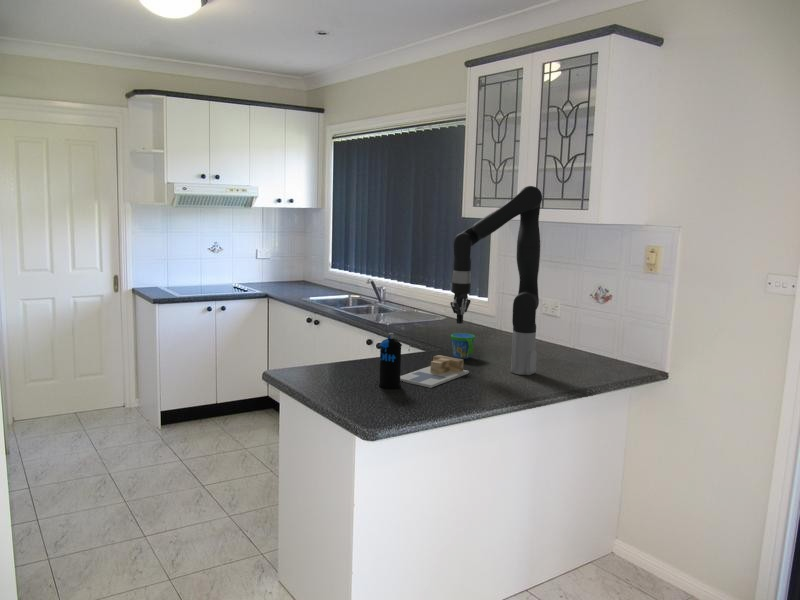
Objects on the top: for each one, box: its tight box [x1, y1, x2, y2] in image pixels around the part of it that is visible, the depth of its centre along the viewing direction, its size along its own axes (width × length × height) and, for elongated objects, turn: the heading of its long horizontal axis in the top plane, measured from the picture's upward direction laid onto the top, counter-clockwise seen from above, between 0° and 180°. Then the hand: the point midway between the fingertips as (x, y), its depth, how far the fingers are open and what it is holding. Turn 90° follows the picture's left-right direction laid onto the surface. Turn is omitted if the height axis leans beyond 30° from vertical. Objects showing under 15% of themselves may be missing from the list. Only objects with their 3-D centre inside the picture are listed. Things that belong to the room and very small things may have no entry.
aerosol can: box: [378, 332, 403, 390], centre depth 244 cm, size 8×8×20 cm
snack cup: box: [450, 332, 476, 360], centre depth 294 cm, size 16×10×10 cm
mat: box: [400, 365, 470, 389], centre depth 261 cm, size 16×28×1 cm, turn 144°
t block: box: [430, 354, 465, 374], centre depth 266 cm, size 12×12×4 cm
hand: (459, 323), depth 273 cm, fingers closed
